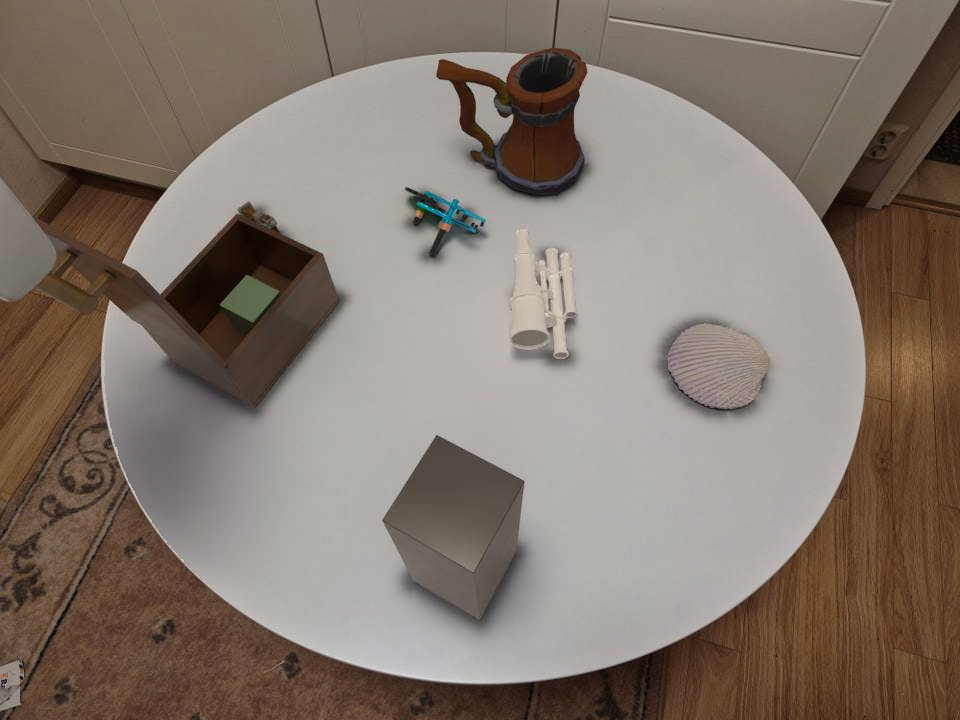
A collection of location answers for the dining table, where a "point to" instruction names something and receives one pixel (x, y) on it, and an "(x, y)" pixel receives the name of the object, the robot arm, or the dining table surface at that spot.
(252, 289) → the block
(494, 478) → the stand
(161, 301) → the chest lid
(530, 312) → the white tubular piece
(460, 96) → the mug
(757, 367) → the seashell
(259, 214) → the wooden post with brackets
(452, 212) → the stick construction toy
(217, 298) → the chest
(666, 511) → the dining table surface
